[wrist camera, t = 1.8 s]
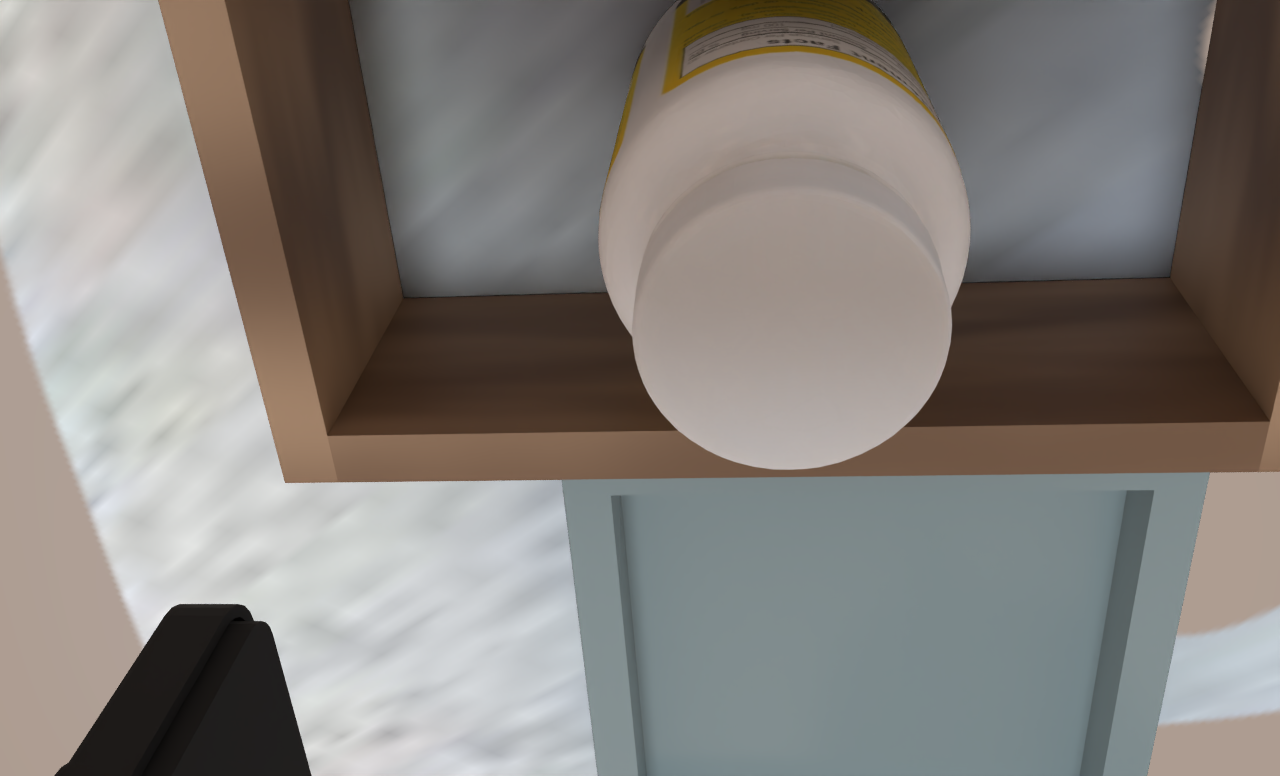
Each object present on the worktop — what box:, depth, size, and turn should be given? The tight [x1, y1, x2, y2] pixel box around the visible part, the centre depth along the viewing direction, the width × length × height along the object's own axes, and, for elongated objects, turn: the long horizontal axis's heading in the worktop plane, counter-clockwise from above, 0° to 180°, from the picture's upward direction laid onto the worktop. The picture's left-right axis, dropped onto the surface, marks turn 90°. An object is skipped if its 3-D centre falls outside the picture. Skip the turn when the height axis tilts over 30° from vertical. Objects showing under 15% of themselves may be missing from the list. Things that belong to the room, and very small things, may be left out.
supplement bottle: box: [598, 0, 971, 470], centre depth 19 cm, size 5×5×10 cm
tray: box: [562, 472, 1210, 776], centre depth 29 cm, size 13×13×2 cm
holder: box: [158, 0, 1280, 483], centre depth 21 cm, size 10×18×6 cm, turn 94°
